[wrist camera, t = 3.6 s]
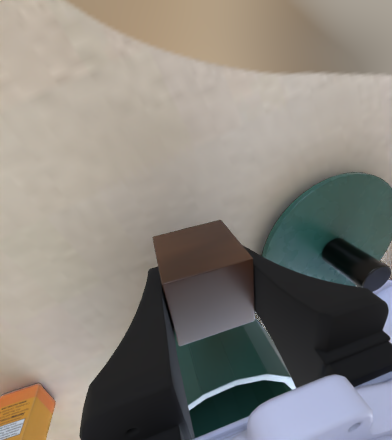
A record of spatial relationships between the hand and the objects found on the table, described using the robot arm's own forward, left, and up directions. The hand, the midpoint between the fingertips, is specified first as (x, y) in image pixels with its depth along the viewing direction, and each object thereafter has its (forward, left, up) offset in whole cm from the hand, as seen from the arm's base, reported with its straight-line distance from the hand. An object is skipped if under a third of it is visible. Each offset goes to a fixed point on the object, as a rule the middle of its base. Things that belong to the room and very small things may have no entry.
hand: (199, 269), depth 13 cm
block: (0, 0, -1) cm, 1 cm away
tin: (-4, +14, -4) cm, 15 cm away
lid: (-13, +1, -3) cm, 13 cm away
